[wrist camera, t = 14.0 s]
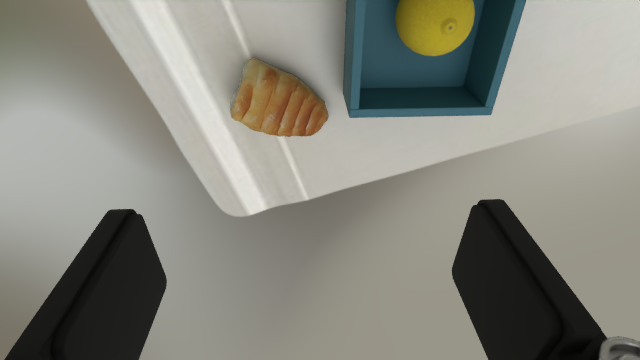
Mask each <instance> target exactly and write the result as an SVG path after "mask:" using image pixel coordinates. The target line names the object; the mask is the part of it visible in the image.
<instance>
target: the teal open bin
mask: <svg viewBox="0 0 640 360" xmlns="http://www.w3.org/2000/svg"><path fill="white" fill-rule="evenodd" d="M399 1H400V0H347V5H346V30H345V55H344V80H343V95H344V98H345V102H346V106H347V110H348V114H349V117H350V118H358V117H413V116H468V115H491V113H492V110H493V106H494V103H495V100H496V97H497V94H498V90H499V87H500V84H501V81H502V77H503V74H504V71H505V67H506V64H507V61H508V58H509V54H510V51H511V48H512V45H513V41H514V38H515V35H516V32H517V28H518V25H519V22H520V19H521V15H522V12H523V9H524V5H525V2H526V0H473V3H474V10H475V16H474V23H473V26H472V29H471V31H470V33H469V35H468V36H467V38H466V39H465V40H464V42H463V43H462V44H461V45H460V46H458V47H457V48H456V49H454V50H453V51H451V52H448V53H446V54H444V55H439V56H426V55H422V54H419V53H416V52H414V51H412V50H411V49H410V48H408V47H407V46H406V45H405V44H404V42H403V41H402V40H401V38H400V37H399V34H398V31H397V28H396V21H395V16H396V9H397V6H398V3H399Z"/></svg>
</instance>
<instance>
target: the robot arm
mask: <svg viewBox="0 0 640 360" xmlns="http://www.w3.org/2000/svg"><path fill="white" fill-rule="evenodd" d="M452 276H453V279H454V282H455V284H456V286H457V288H458V291H459V293H460V296H461V298H462V300H463V302H464V305H465V307H466V309H467V311H468V314H469V316H470V319H471V321H472V323H473V325H474V328H475V330H476V332H477V334H478V337H479V339H480V341H481V344H482V346H483V348H484V351H485V353H486V355H487V357H488V360H640V342H639V341H636V340H633V339H631V338H625V337H619V336H618V337H611V338H608V339H607V337H606V336H605V335H604V333H603V332H602V331H601V328H600V327H599V326H598V324H597V323H596V322H595V321H594V319H593V318H592V316H591V315H590V314H589V312H588V311H587V310H586V309H585V307H584V306H583V305H582V303H581V302H580V301H579V299H578V298H577V297H576V295H575V294H574V293H573V291H572V290H571V289H570V287H569V286H568V285H567V283H566V282H565V281H564V279H563V278H562V277H561V275H560V274H559V273H558V271H557V270H556V269H555V267H554V266H553V265H552V263H551V262H550V261H549V259H548V258H547V257H546V256H545V254H544V253H543V252H542V250H541V249H540V247H539V246H538V245H537V244H536V242H535V241H534V240H533V238H532V237H531V236H530V234H529V233H528V232H527V230H526V229H525V228H524V226H523V225H522V224H521V222H520V221H519V220H518V218H517V217H516V216H515V214H514V213H513V212H512V211H511V209H510V208H509V206H508V205H507V204H506V203H505V201H503V200H500V199H494V200H480V201H479V202H478V204H477V205H474V206H473V207H472V208H471V211H470V214H469V217H468V220H467V223H466V227H465V230H464V233H463V236H462V239H461V242H460V245H459V248H458V251H457V254H456V257H455V260H454V264H453V267H452ZM166 283H167V280H166V275H165V273H164V270H163V268H162V265H161V263H160V260H159V257H158V255H157V252H156V250H155V247H154V244H153V242H152V239H151V237H150V234H149V232H148V229H147V226H146V224H145V221H144V219H143V217H142V215H140V214H137V213H136V212H135V211H134V210H133V209H117V210H109V211H108V212H107V213H106V214H105V216H104V217H103V219H102V220H101V221H100V223H99V224H98V226H97V227H96V229H95V230H94V231H93V233H92V234H91V236H90V237H89V239H88V240H87V241H86V243H85V244H84V246H83V247H82V249H81V250H80V252H79V253H78V254H77V256H76V257H75V259H74V260H73V262H72V263H71V265H70V266H69V267H68V269H67V270H66V272H65V273H64V274H63V276H62V278H61V279H60V281H59V282H58V283H57V284H56V286H55V288H54V289H53V290H52V292H51V293H50V295H49V296H48V298H47V299H46V300H45V302H44V303H43V305H42V306H41V307H40V309H39V311H38V312H37V313H36V315H35V316H34V317H33V319H32V320H31V322H30V323H29V325H28V326H27V328H26V329H25V330H24V332H23V333H22V335H21V336H20V338H19V339H18V340H17V342H16V343H15V345H14V346H13V348H12V349H11V351H10V352H9V354H8V355H7V357H6V358H5V360H139V357H140V355H141V352H142V349H143V347H144V344H145V341H146V339H147V336H148V334H149V331H150V328H151V326H152V323H153V320H154V318H155V315H156V313H157V310H158V307H159V305H160V302H161V299H162V297H163V294H164V292H165V289H166Z"/></svg>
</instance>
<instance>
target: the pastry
mask: <svg viewBox="0 0 640 360" xmlns="http://www.w3.org/2000/svg"><path fill="white" fill-rule="evenodd" d="M230 113H231V117H232V118H233V119H234V120H236V121H240V122H241V123H243V124H245V125H246V126H247V127H249V128H250V129H252V130H254V131H259V132H264V133H266V134H269V135H277V136H288V137H290V136H311V135H313V134H315V133H316V132H318V131H319V130H320V129H321V127H322V126H323V124H324V123H325V122H326V121H327V119H328V112H327V109H326V105H325V102H324V101H323V100H322V99H321V98H319V97H318V96H317V95H316V94H315V93H314V92H313V91H312V90H311V88H310V87H308V86H306V85H305V84H303V83H302V82H301V81H300V79H298V78H296V77H295V76H294V75H292V74H290V73H285V72H283V71H281V70H279V69H277V68H275V67H274V66H271V65H269V64H267V63H265V62H261V61H260V60H258V59H256V58H251V59H249V60H247V62H246V64H245V66H244V69H243V71H242V75H241V80H240V84H239V89H238V90H237V91H236V92H235V93H234V95H233V96H232V101H231V103H230Z"/></svg>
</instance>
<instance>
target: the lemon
mask: <svg viewBox="0 0 640 360" xmlns="http://www.w3.org/2000/svg"><path fill="white" fill-rule="evenodd" d="M474 16H475V10H474V3H473V0H400V1H399V3H398V6H397V9H396V16H395V21H396V28H397V31H398V34H399V37H400V38H401V40H402V41H403V42H404V44H405V45H406V46H407V47H408V48H410V49H411V50H412V51H414V52H416V53H419V54H422V55H426V56H439V55H444V54H446V53H448V52H451V51H453V50H454V49H456V48H457V47H458V46H460V45H461V44H462V43H463V42H464V40H465V39H466V38H467V36H468V35H469V33H470V31H471V29H472V26H473V23H474Z"/></svg>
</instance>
